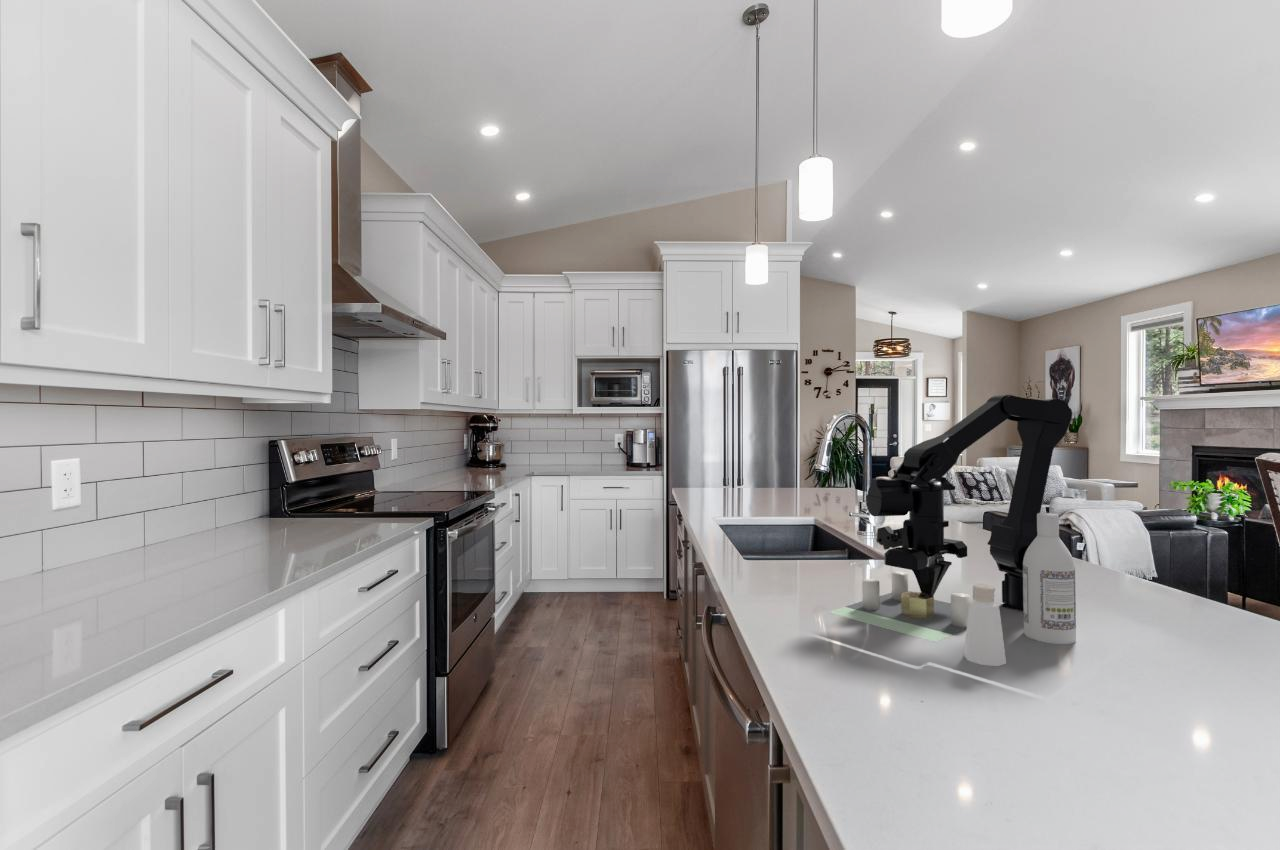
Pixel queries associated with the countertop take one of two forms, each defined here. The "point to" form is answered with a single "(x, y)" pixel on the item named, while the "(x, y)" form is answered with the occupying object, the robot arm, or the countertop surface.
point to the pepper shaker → (984, 629)
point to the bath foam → (1049, 586)
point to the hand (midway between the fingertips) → (927, 600)
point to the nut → (917, 605)
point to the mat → (904, 618)
